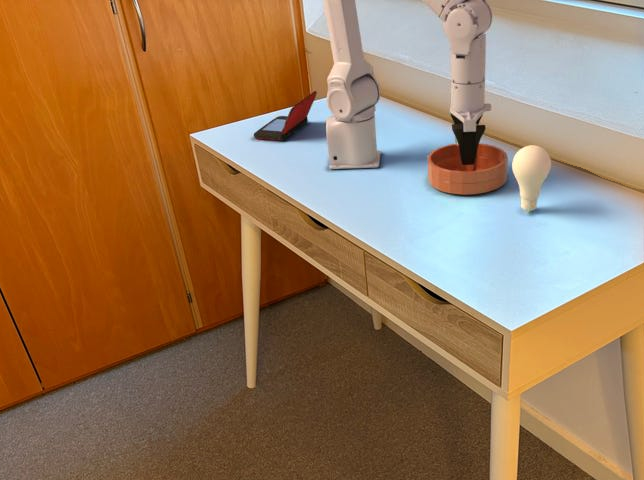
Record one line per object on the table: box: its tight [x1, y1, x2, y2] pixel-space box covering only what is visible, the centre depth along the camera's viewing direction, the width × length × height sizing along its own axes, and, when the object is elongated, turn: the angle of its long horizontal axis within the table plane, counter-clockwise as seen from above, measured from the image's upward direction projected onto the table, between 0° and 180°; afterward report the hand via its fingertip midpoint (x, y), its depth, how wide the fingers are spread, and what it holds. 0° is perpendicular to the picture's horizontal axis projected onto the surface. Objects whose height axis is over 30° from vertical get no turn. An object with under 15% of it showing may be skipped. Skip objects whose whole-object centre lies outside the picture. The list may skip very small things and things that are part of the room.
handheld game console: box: [253, 90, 318, 142], centre depth 155 cm, size 12×11×7 cm
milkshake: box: [454, 124, 479, 171], centre depth 127 cm, size 4×5×10 cm
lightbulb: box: [511, 144, 552, 213], centre depth 116 cm, size 6×6×11 cm
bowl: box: [427, 142, 509, 196], centre depth 130 cm, size 14×14×4 cm
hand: (467, 158), depth 128 cm, fingers closed on milkshake, 5 cm apart
